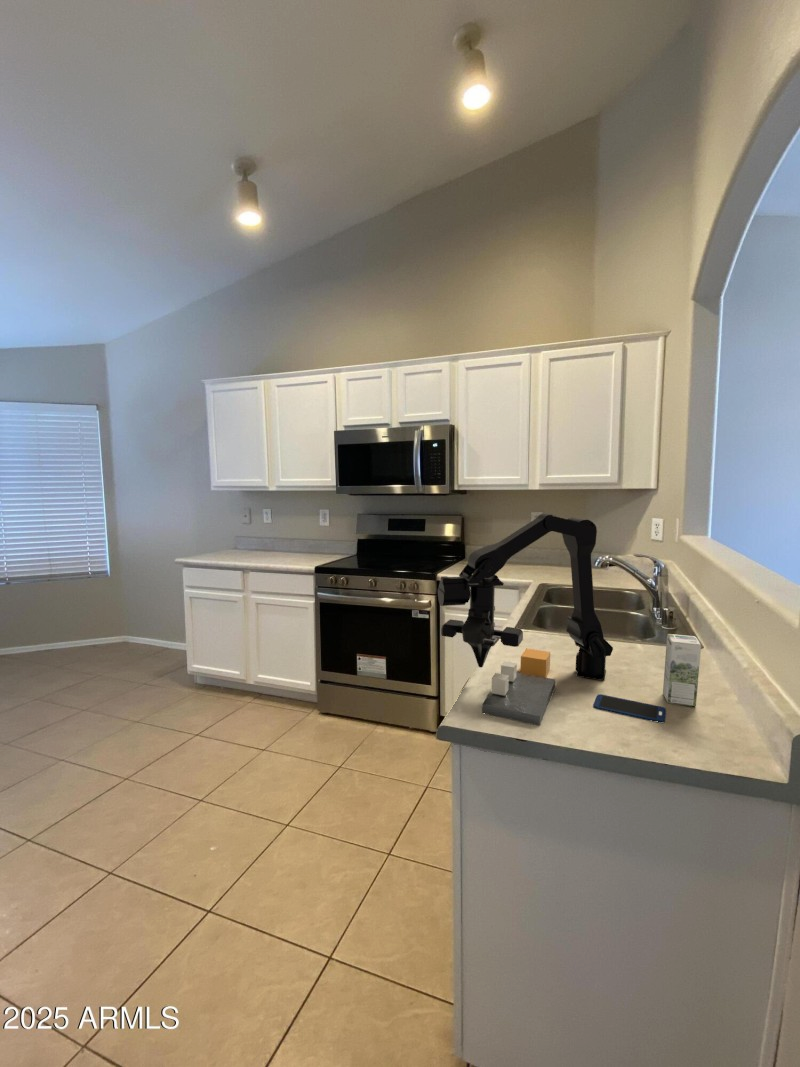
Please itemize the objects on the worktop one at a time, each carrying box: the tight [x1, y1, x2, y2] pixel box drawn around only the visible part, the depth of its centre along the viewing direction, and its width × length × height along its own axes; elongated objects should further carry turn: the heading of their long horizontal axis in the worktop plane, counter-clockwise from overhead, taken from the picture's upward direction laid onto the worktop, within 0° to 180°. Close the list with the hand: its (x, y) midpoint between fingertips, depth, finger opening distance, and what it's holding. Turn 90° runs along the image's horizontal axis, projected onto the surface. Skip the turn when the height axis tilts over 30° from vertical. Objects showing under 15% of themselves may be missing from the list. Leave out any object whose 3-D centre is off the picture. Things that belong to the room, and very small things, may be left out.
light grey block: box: [500, 660, 518, 682], centre depth 117 cm, size 3×3×4 cm
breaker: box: [490, 672, 509, 696], centre depth 110 cm, size 3×3×4 cm
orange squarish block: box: [519, 648, 551, 678], centre depth 127 cm, size 6×6×5 cm
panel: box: [481, 672, 556, 726], centre depth 112 cm, size 12×20×2 cm, turn 154°
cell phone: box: [592, 694, 667, 723], centre depth 108 cm, size 7×14×1 cm, turn 60°
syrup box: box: [662, 633, 702, 707], centre depth 111 cm, size 6×6×14 cm
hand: (480, 666), depth 120 cm, fingers closed
